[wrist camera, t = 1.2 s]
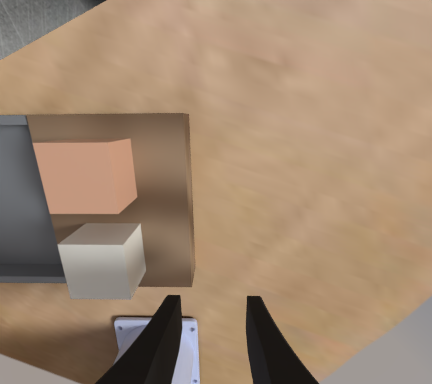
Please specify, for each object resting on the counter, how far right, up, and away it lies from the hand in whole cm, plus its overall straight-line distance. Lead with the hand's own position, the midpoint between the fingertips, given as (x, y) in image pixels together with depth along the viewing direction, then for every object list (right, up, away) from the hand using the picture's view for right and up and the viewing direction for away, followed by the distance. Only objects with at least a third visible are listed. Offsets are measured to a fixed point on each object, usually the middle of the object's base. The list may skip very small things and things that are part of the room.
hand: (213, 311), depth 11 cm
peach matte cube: (-7, +7, +4) cm, 11 cm away
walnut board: (-7, +5, +7) cm, 11 cm away
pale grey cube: (-7, +2, +6) cm, 10 cm away
